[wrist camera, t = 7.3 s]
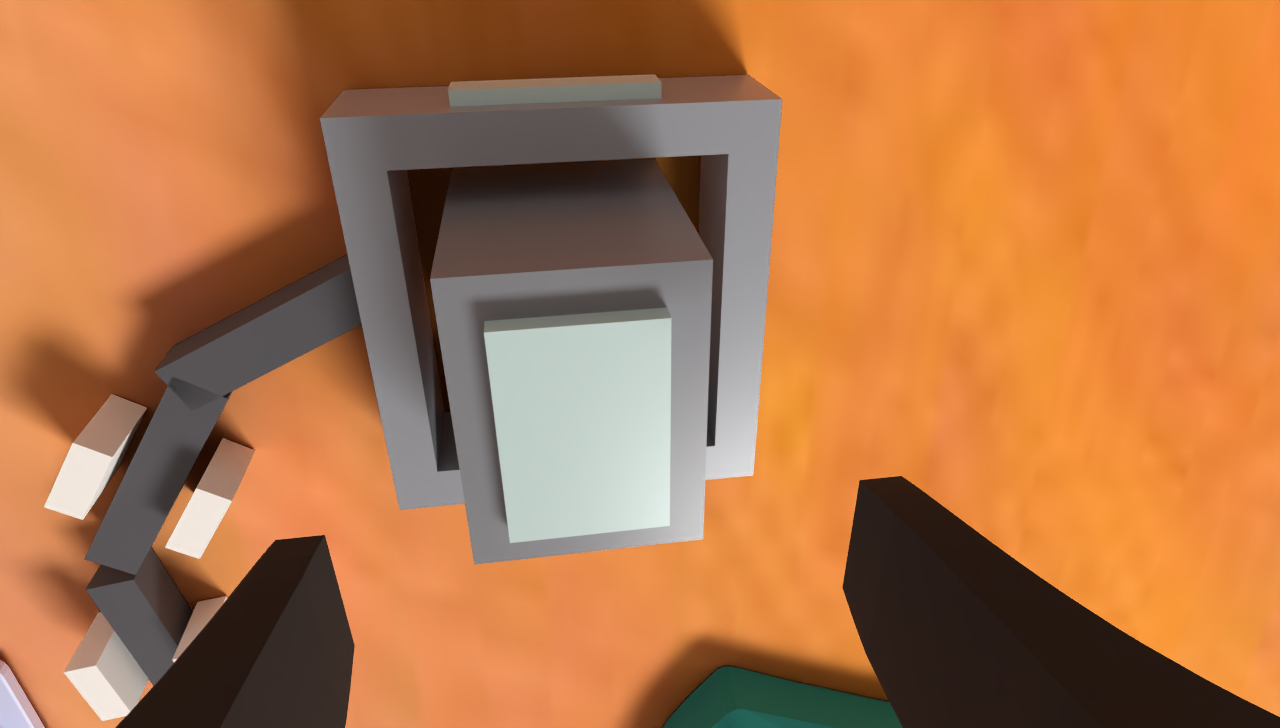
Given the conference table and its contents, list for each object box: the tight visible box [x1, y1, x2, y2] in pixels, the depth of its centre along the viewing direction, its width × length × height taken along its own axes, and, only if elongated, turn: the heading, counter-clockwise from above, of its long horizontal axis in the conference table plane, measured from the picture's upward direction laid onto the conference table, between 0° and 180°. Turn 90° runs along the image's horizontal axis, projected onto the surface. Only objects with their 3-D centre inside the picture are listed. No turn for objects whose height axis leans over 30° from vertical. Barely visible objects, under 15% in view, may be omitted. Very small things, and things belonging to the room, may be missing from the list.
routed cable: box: [44, 254, 362, 721], centre depth 20 cm, size 5×16×2 cm, turn 154°
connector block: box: [430, 158, 713, 564], centre depth 17 cm, size 4×6×6 cm
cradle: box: [320, 74, 782, 510], centre depth 18 cm, size 8×9×2 cm
